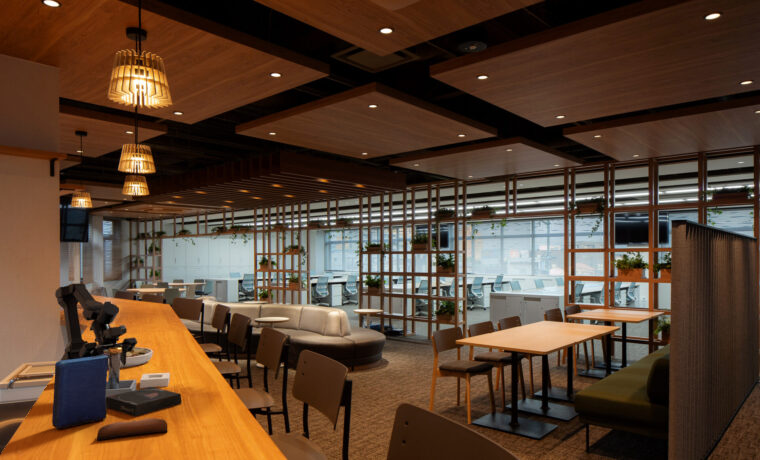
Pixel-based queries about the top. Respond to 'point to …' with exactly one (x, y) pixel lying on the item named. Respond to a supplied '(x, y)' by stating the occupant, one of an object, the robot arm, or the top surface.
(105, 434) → the sunglasses case
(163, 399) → the portable cd player
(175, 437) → the top surface
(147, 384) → the pin socket block
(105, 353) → the bowl
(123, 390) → the pin tray
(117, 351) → the pin
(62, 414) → the book
